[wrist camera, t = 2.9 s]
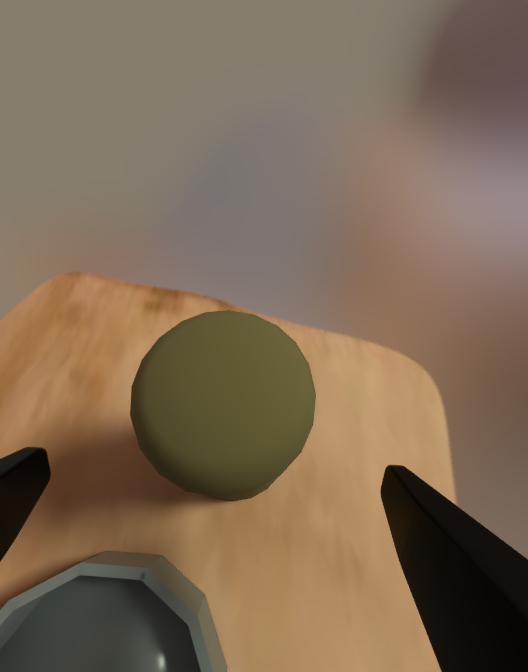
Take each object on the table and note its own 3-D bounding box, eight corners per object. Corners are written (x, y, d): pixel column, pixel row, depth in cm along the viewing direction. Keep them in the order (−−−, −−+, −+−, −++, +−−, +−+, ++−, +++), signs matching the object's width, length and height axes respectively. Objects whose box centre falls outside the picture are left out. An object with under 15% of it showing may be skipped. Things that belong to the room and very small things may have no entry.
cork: (159, 451, 16) (32, 400, 7) (229, 371, 19) (210, 245, 9) (245, 528, 15) (242, 603, 5) (308, 430, 17) (387, 356, 8)
